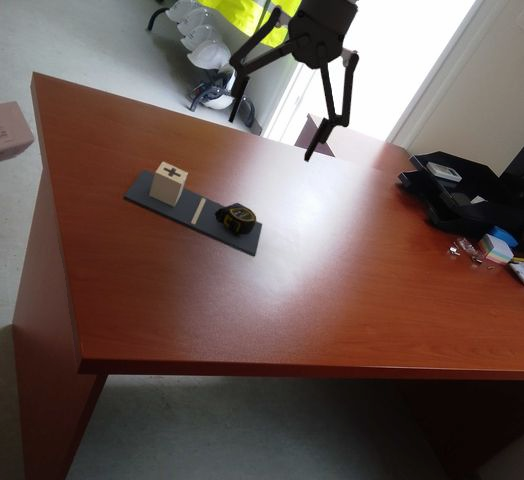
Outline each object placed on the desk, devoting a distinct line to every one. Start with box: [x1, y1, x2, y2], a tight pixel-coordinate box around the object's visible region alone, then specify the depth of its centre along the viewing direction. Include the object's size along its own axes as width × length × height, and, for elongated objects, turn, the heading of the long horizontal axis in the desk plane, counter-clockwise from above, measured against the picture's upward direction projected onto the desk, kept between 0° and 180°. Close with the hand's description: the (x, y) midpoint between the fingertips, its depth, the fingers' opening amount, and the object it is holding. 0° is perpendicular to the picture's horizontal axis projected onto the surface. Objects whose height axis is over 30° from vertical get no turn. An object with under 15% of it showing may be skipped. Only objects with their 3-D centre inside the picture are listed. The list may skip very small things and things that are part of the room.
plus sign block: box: [149, 161, 189, 207], centre depth 86 cm, size 5×5×5 cm
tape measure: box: [215, 202, 257, 235], centre depth 89 cm, size 7×7×4 cm
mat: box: [123, 169, 263, 257], centre depth 89 cm, size 26×12×1 cm, turn 85°
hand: (269, 139), depth 75 cm, fingers open, 13 cm apart
